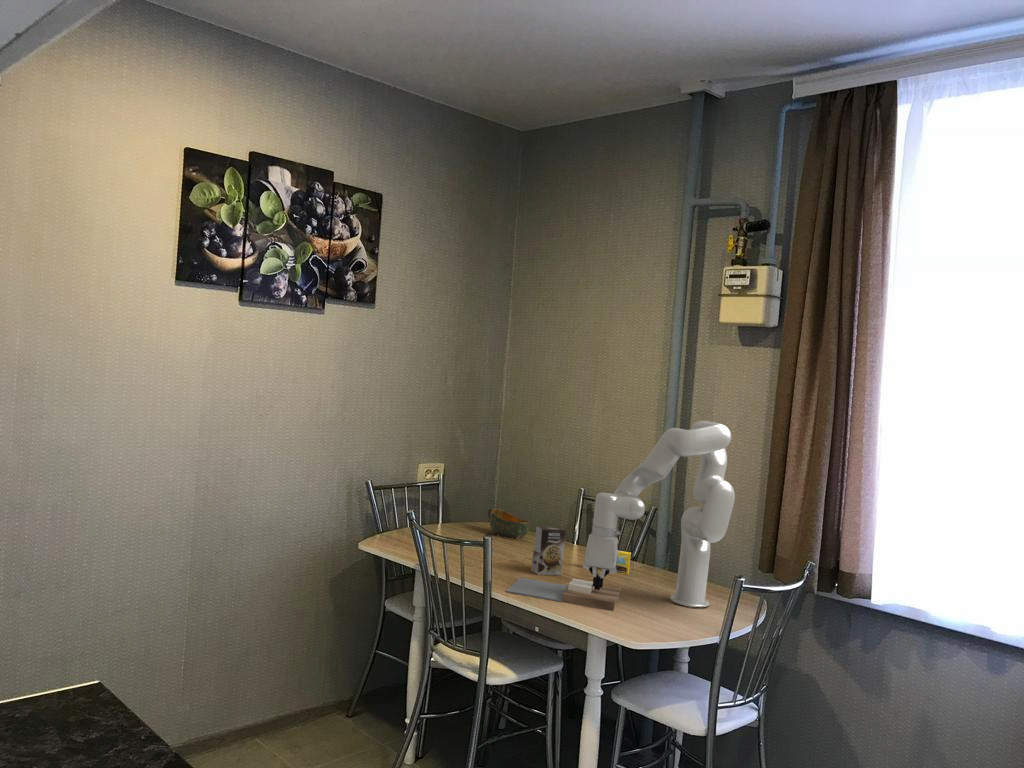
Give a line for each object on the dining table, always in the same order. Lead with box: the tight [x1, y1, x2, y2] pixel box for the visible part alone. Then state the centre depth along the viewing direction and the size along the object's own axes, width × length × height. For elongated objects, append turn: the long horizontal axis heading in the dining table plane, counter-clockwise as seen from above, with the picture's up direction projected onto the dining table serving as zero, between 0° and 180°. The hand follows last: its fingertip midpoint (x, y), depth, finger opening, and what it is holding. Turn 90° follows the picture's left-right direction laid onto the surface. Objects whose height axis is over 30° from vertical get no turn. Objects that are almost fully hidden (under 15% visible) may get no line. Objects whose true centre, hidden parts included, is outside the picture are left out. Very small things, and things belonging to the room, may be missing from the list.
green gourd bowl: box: [487, 507, 531, 540], centre depth 351 cm, size 13×20×10 cm, turn 24°
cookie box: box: [530, 525, 567, 576], centre depth 294 cm, size 9×6×16 cm
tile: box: [568, 578, 594, 594], centre depth 267 cm, size 8×7×2 cm
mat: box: [505, 577, 569, 603], centre depth 270 cm, size 19×18×1 cm
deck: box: [561, 585, 622, 611], centre depth 266 cm, size 18×16×2 cm
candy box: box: [597, 550, 632, 575], centre depth 307 cm, size 16×2×8 cm, turn 76°
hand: (597, 589), depth 265 cm, fingers closed
